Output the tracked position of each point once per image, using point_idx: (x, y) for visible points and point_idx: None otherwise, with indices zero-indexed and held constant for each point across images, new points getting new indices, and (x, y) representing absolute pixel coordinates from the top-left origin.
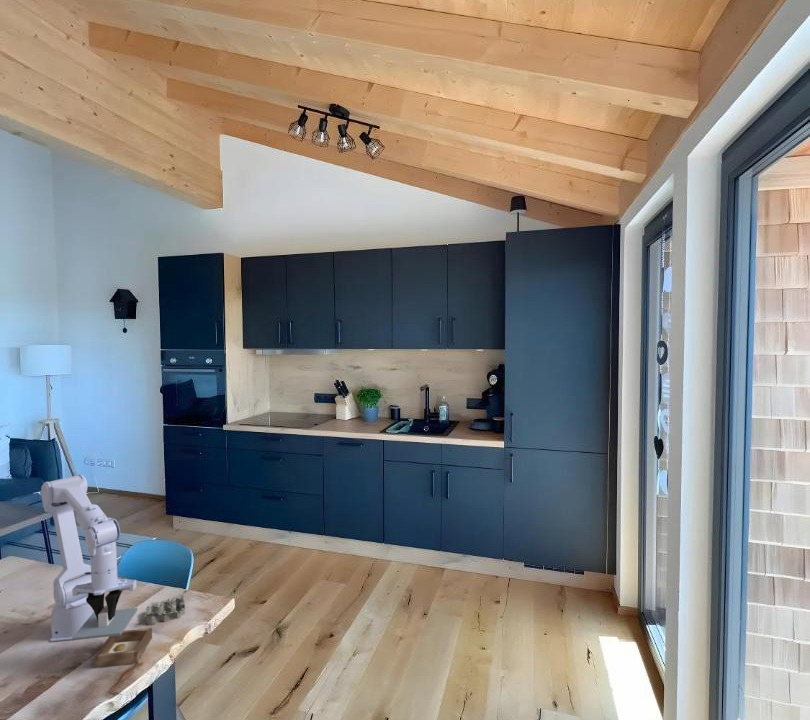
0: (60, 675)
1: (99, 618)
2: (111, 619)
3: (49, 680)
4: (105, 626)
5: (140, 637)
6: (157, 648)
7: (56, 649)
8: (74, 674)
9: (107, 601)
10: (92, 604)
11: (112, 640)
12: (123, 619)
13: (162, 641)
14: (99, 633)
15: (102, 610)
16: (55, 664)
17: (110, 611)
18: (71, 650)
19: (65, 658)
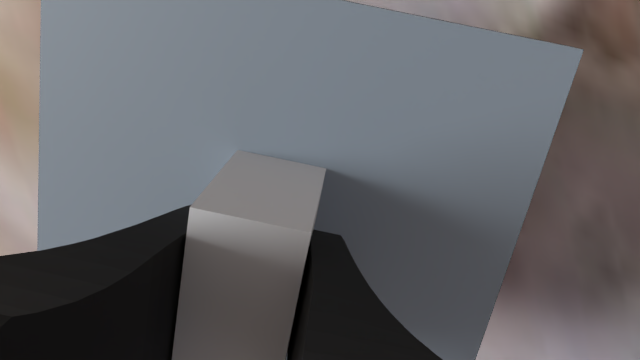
0: (566, 43)
1: (301, 204)
2: (187, 206)
3: (628, 12)
4: (253, 152)
5: None
6: (17, 102)
7: (629, 331)
8: (479, 17)
9: (39, 296)
10: (391, 354)
11: None
12: (103, 225)
13: (9, 166)
14: (284, 28)
15: (277, 322)
16: (614, 179)
17: (136, 230)
18: (540, 287)
19: (563, 219)
